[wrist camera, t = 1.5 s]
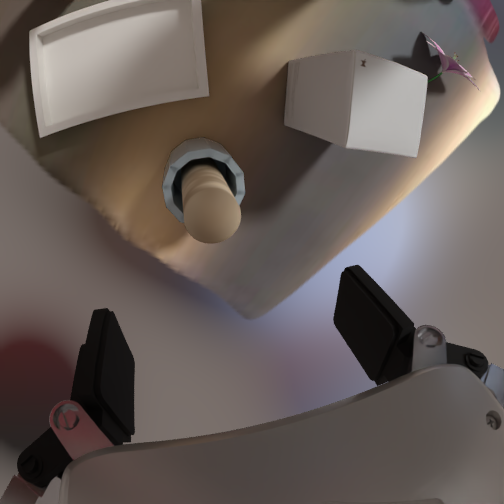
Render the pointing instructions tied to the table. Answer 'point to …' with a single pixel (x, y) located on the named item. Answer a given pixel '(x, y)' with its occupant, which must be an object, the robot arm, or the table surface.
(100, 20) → the tray
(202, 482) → the robot arm
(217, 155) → the cup
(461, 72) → the lily
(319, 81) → the supplement box
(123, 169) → the table surface
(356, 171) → the table surface
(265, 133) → the table surface
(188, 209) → the dowel
